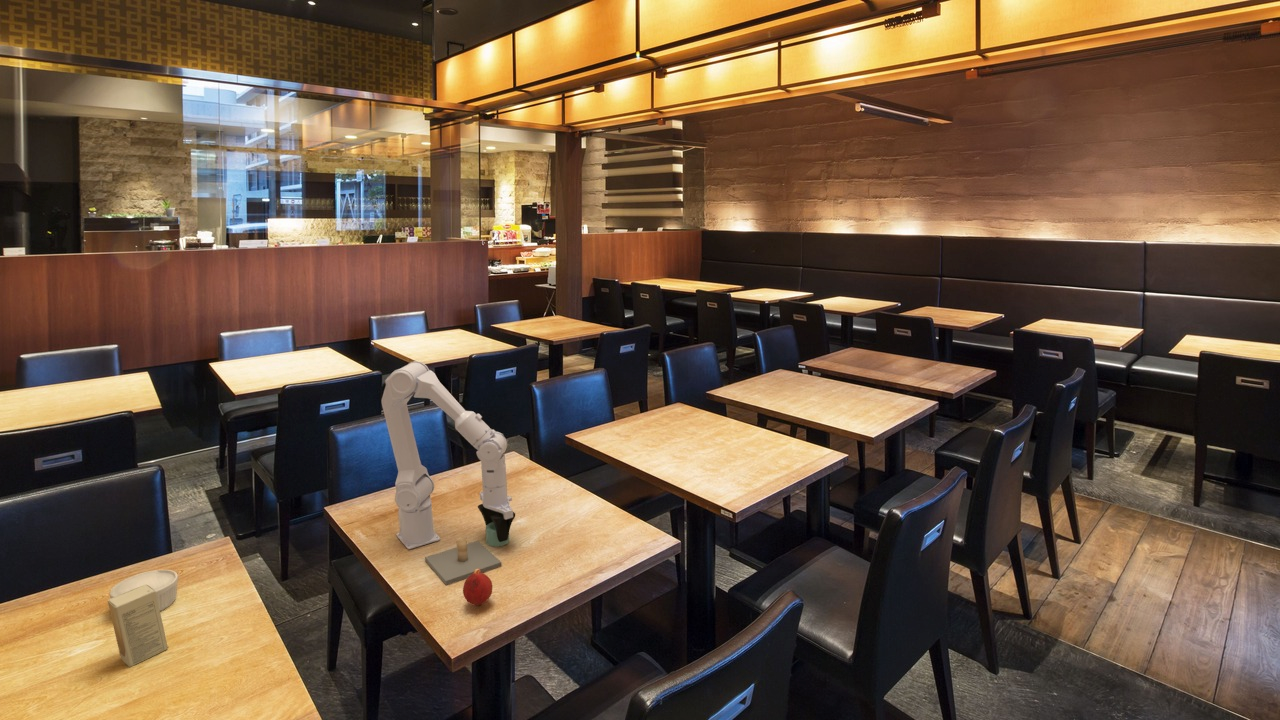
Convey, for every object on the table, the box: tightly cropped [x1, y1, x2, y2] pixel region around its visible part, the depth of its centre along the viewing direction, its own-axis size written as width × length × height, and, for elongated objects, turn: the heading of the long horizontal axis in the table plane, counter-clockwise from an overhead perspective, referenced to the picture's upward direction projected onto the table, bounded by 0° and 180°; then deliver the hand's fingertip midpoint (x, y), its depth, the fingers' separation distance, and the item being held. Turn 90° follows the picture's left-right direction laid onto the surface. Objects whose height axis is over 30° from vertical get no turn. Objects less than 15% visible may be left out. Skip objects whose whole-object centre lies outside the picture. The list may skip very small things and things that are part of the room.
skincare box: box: [107, 584, 169, 668], centre depth 119 cm, size 6×4×12 cm
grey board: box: [424, 540, 503, 586], centre depth 151 cm, size 13×13×1 cm
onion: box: [462, 569, 493, 607], centre depth 134 cm, size 6×6×8 cm
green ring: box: [485, 522, 510, 547], centre depth 161 cm, size 5×5×4 cm
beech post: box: [455, 536, 468, 562], centre depth 150 cm, size 2×2×5 cm
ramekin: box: [109, 569, 179, 612], centre depth 135 cm, size 11×11×5 cm
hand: (497, 535), depth 161 cm, fingers closed on green ring, 5 cm apart
